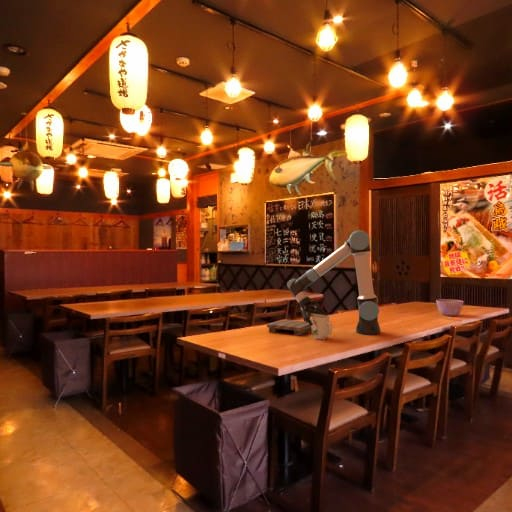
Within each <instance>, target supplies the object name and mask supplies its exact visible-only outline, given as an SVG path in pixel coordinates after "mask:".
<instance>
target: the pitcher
mask: <svg viewBox="0 0 512 512" xmlns="http://www.w3.org/2000/svg"><path fill="white" fill-rule="evenodd" d="M311 319H312V321H313V322H314V324H315V325H316V326H317V329H316V330H315V331H314V330H313V329H312V327H311V329H312V331H311V334H312V336H313V337H314V339H315V338H316V339H315V340H321V339H322V340H327V338H328V337H329V336H330V335H332V332H333V326H332V325H333V324H332V323H331V322H329V321H330V316H329V315H321V314H314V313H311ZM331 324H332V325H331Z"/></svg>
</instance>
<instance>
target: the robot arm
mask: <svg viewBox="0 0 512 512" xmlns="http://www.w3.org/2000/svg"><path fill="white" fill-rule="evenodd" d="M370 241H371V240H370V236H369V234H368V233H367V232H366V231H364V230H361V229H360V230H359V229H358V230H355V231H353V232H351V234H350V235H349V237H348V239H346V241H344V243H343V245H341V246H340V247H339V248H337V249H336V250H334V251H333V252H331V253H330V254H329V255H328V256H327V257H325V258H324V259H322V260H321V261H320V262H319V263H317V264H316V265H315V266H314V267H312V268H310V269H308V270H307V271H305V272H304V273H303V274H301V276H300V277H298V278H291V279H290V280H289V281H287V282H286V286H287V288H288V290H289V292H290V293H291V295H292V296H293V297H294V299H295V300H296V301H297V303H298V304H299V306H300V308H299V310H300V311H301V316H302V319H303V320H302V321H305V322H306V323H307V322H308V323H309V325H310V326H311V327H312V329H313V330H314V331H315V330H316V329H317V326H316V325H315V324H314V322H313V321H312V318H311V314H321V315H327V316H329V314H328V313H327V312H325V311H324V310H323V309H322V308H321V307H320V306H318V304H317V303H316V304H313V301H312V299H311V298H310V297H309V294H308V293H307V292H306V291H305V290H306V289H307V287H309V286H310V285H311V284H313V283H315V281H317V280H318V279H320V278H321V277H322V276H324V275H325V274H326V273H328V272H329V271H330V270H332V269H333V268H334V267H335V266H337V265H338V264H340V263H341V262H342V261H344V260H345V259H346V258H348V257H349V256H350V255H352V256H353V259H354V266H355V273H356V274H355V275H356V279H357V280H356V281H357V287H358V288H357V289H358V297H357V306H358V307H357V308H358V311H357V312H358V322H357V324H356V328H355V332H356V333H357V334H361V335H371V336H372V335H379V334H381V331H382V330H381V326H380V323H379V321H378V319H379V313H380V308H379V304H378V303H379V298H378V297H377V295H376V294H375V292H374V286H373V278H372V270H371V262H370V256H369V255H370V253H371V252H372V250H371V243H370ZM329 322H330V320H329ZM330 323H331V322H330ZM331 325H333V324H332V323H331Z"/></svg>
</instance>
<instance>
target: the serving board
mask: <svg viewBox="0 0 512 512" xmlns="http://www.w3.org/2000/svg"><path fill="white" fill-rule="evenodd" d="M266 328H268V332H269V333H277V332H279V331H282V330H286V331H293V336H299V335H300V336H302V335H305V334H308V333H309V331H310V332H312V329H311V326H310V325H309V323H308V322H307V323H306V322H305V321H304V320H295V319H280V320H276V321H273V322H269V323H267V324H266ZM304 333H305V334H304ZM301 334H302V335H301Z"/></svg>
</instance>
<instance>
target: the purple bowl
mask: <svg viewBox="0 0 512 512" xmlns="http://www.w3.org/2000/svg"><path fill="white" fill-rule="evenodd" d="M435 302H436V306H437V310H438V312H439V313H440V314H442V315H443V316H445V317H455V316H457V315H459V314H460V313H461V312H462V310H463V306H464V304H465V303H464V302H465V301H464V300H461V299H449V298H448V299H447V298H441V299H440V298H439V299H436V300H435Z"/></svg>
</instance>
